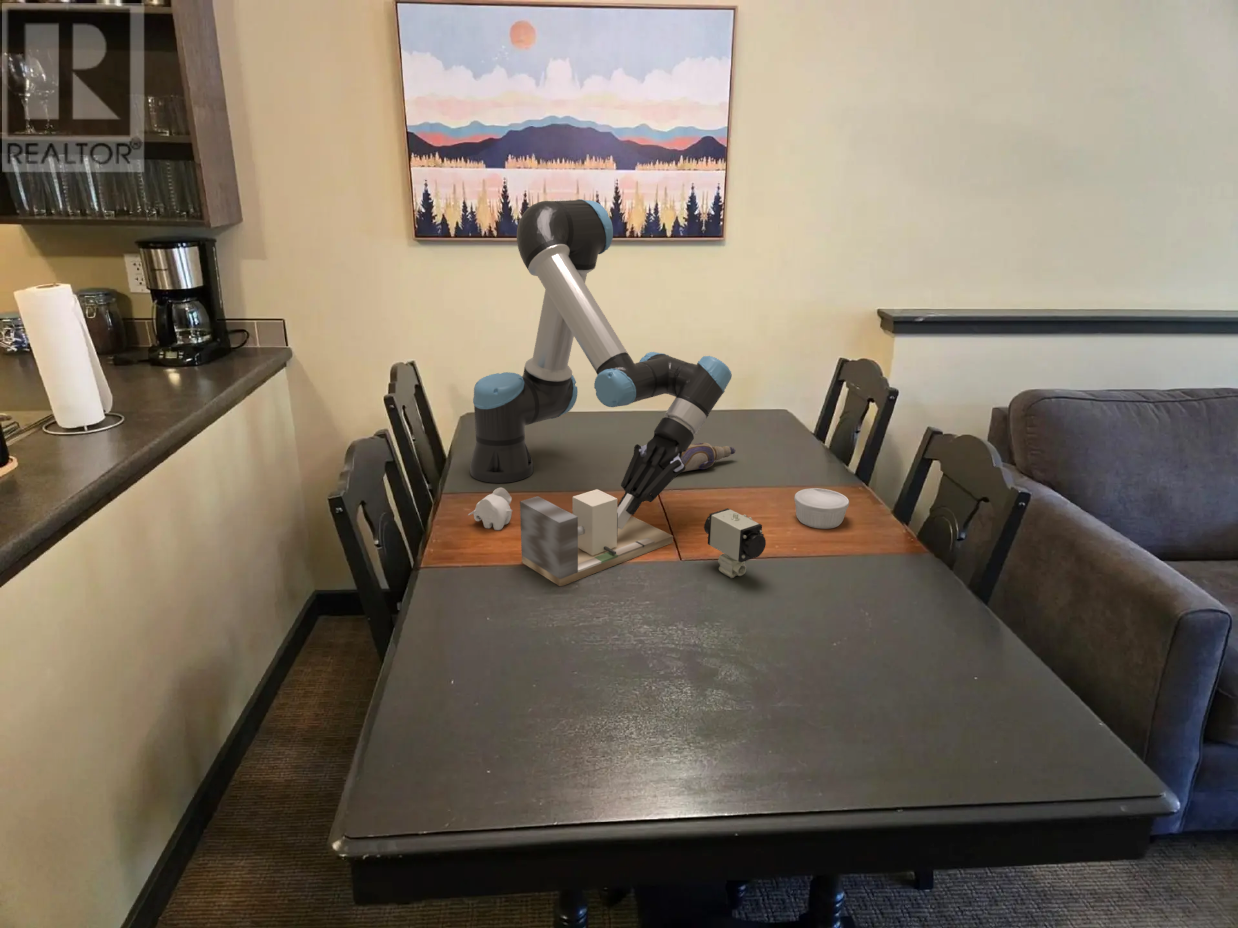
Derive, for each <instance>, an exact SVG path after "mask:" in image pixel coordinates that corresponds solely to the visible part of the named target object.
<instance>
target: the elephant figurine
mask: <svg viewBox="0 0 1238 928" xmlns="http://www.w3.org/2000/svg"><path fill="white" fill-rule="evenodd" d="M512 498H513V497H512V496H511V495H510V493H509V492H508V491H507V490H506V488H504V487H497V488H495V489H494V490H493V492H492V493H490V494H487V495H486V496H485V497H483V498H482V499H481V500H480V501H478V502H477V503H476V505H475V509H474V510H473V511H471V512H469V513H468V514H467V516H471V515H473V518H474V520H475V521H476V522H480V521H482V523H483V527H484V528H485V529H491V528H493V529H494V530H495V531H501V530H503V527H504V526H505V525H507V524H509V523H510V521H511V519H512V512H513V509H511V508H512V507H511V506H510V504H511V503H512Z"/></svg>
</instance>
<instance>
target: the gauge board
mask: <svg viewBox="0 0 1238 928" xmlns="http://www.w3.org/2000/svg"><path fill="white" fill-rule="evenodd" d="M519 510H520V511H519V513H520V514H519V515H520V516H519V517H520V540H521V541H520V543H521V544H520V545H521V547H520V548H521V564H523V565H525V566H527V567H528V568H529V569H531V570H533V571H535V572H536V573H538V574H539V575H541V576H542V577H544V578H545V579H547V580H549V581H551V582H552V583H554V584H556V585H557V586H559V587H561V588H562V587H563V586H566V585H568V584H571V583H574V582H576V581H579V580H581V579H584V578H586V577H589V576H591V575H593V574H595V573H599V572H602V571H605V570H607V569H609V568H611V567H614V566H616V565H619V564H621V563H624V562H626V561H629V560H632V559H635V558H637V557H640V556H643V555H645V554H647V553H650V552H653V551H654V550H657V549H660V548H664V547H665V546H667V545H670V544H673V543H674V542H673V540H674V535H672V534H670V533H668V532H666V531H664V530H661V529H660V528H658V527H655V526H653V525H651V524H649V523H647V522H645V521H643V520H641V519H638V518H636V517H634V516H630V518H629V519H628V521H627V522H626V524H625V526H624V527H623V529H622V530H621V529H619V528H618V537H617V547H614V548H612V550H614V551H616V554H615V555H613V554H611V553H610V552H608V551H604V552H601V553H598V554H596V555H593V556H592V555H590V554H589V553H587V552H585V551H583V550H581V549H580V548H578V517H577V516H575V515H573V513H571V512H569V511H567V510H566V509H564V508H561V507H559V506H558V505H556V504H554V503H552V502H550V501H548V500H546V499H544V498H543V497H540V496H538V495H537V496H534V497H529V498H527V499H523V500H520V501H519Z"/></svg>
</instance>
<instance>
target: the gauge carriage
mask: <svg viewBox="0 0 1238 928" xmlns="http://www.w3.org/2000/svg"><path fill="white" fill-rule="evenodd" d="M617 506H618V498H617V497H614V496H613V495H611V494H608V493H606V492H604V491H602V490H600V489H598V488H596V489H593V490H590V491H587V492H583V493H581V494H577V495H573V496H572V514H573V515H575V516H577V517H578V548H580V549H581V550H583V551H585V552H587V553H589V554H590V555H592V556H593V555H596V554H598V553H601V552H604V551H608V552H610V553H611V554H613V555H615V554H616V551H614V550H612V548H614V547H617V537H618V513H617V509H618V507H617Z"/></svg>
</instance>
